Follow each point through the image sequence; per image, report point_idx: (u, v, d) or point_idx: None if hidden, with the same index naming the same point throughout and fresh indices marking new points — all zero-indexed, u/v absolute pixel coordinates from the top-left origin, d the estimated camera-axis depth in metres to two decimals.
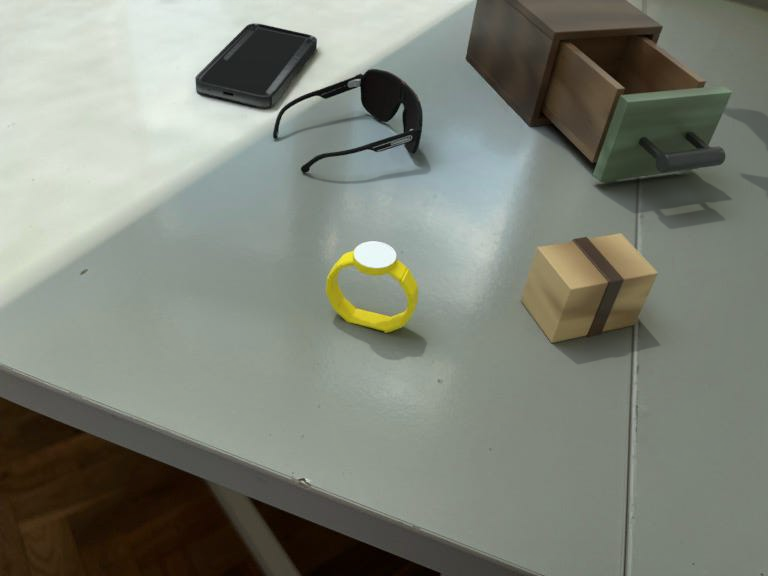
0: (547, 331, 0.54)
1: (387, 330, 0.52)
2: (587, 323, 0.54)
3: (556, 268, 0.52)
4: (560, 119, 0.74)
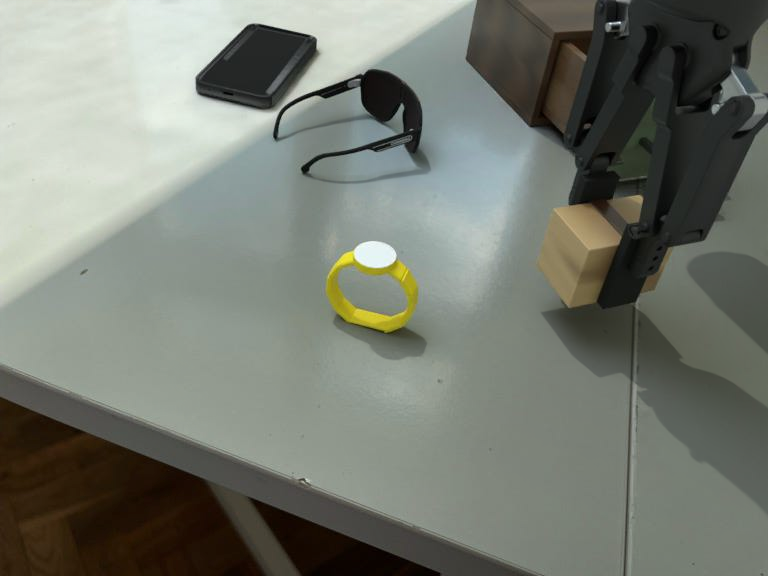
0: (564, 295, 0.52)
1: (387, 330, 0.52)
2: None
3: (573, 229, 0.50)
4: (560, 119, 0.74)
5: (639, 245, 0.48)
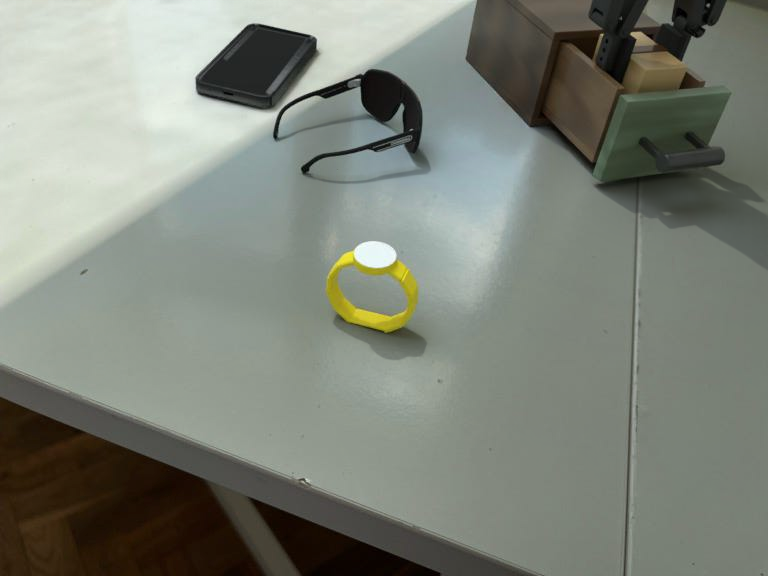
0: None
1: (387, 330, 0.52)
2: None
3: None
4: (560, 119, 0.74)
5: None
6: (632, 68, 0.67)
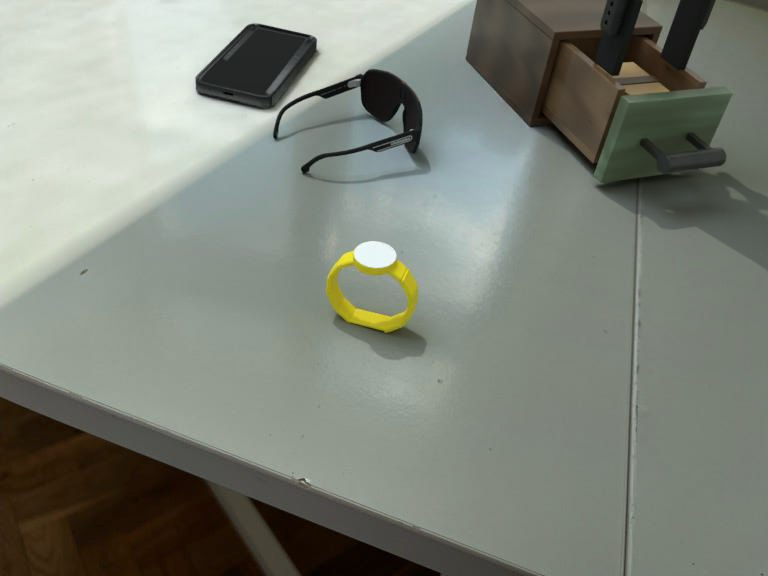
0: None
1: (387, 330, 0.52)
2: None
3: None
4: (561, 120, 0.74)
5: None
6: None
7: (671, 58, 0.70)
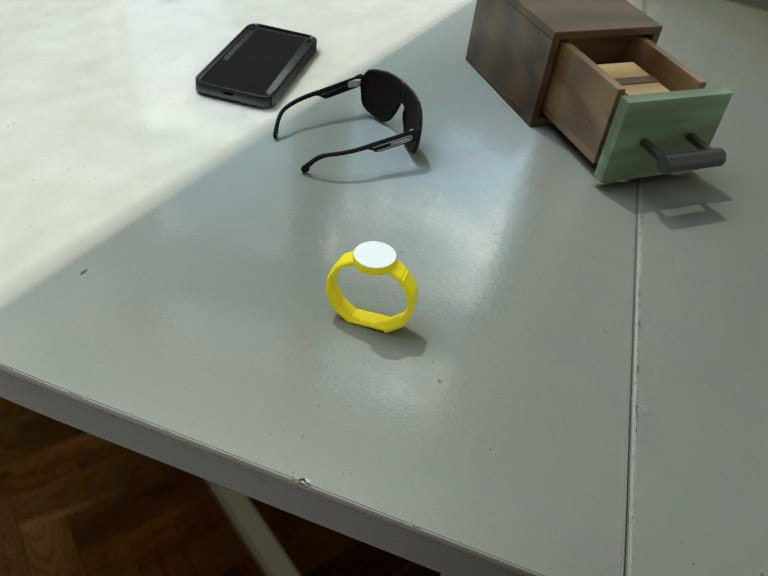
0: None
1: (387, 330, 0.52)
2: None
3: None
4: (561, 120, 0.74)
5: None
6: None
7: None
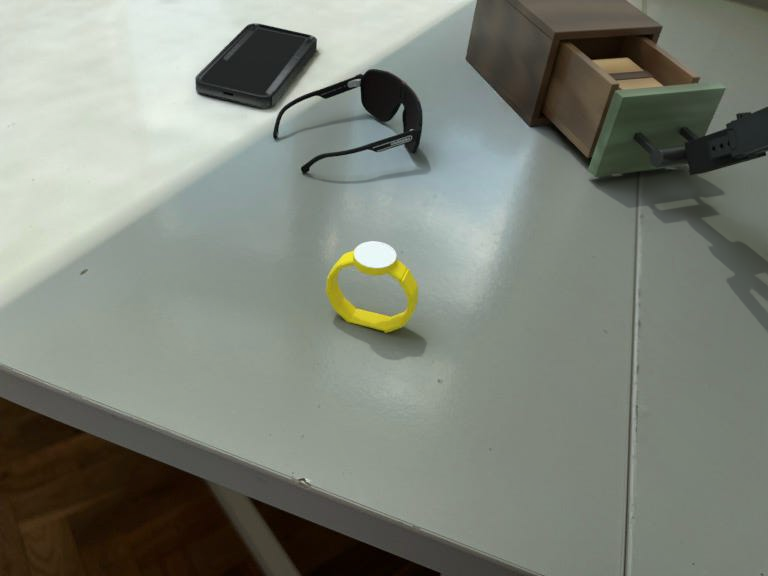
0: None
1: (387, 330, 0.52)
2: None
3: (607, 59, 0.73)
4: (556, 115, 0.74)
5: None
6: None
7: None
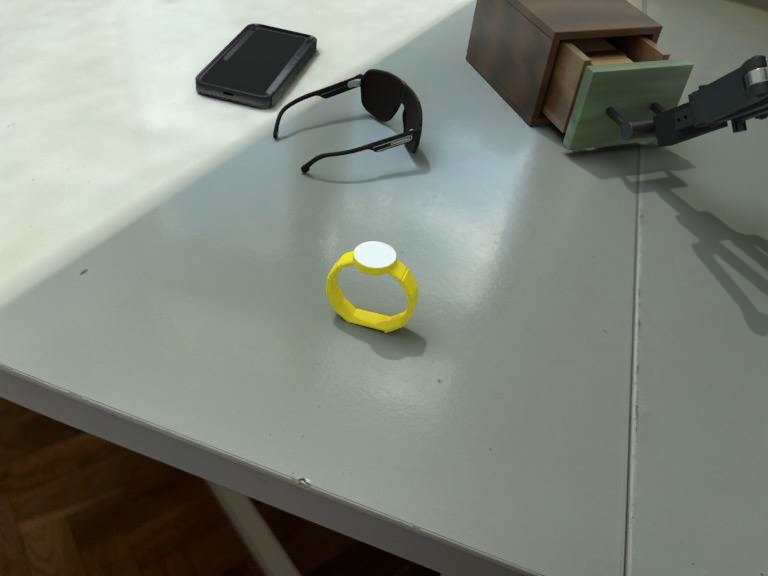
0: None
1: (387, 330, 0.52)
2: None
3: None
4: None
5: None
6: None
7: None
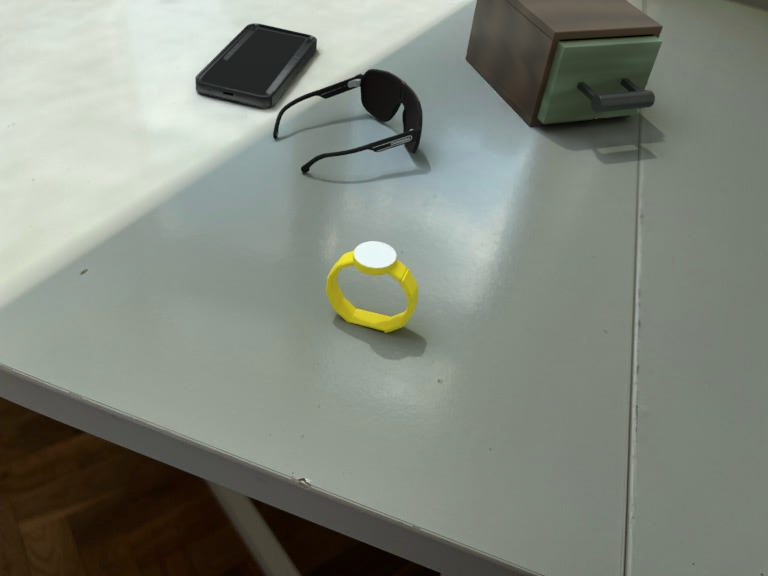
0: None
1: (387, 330, 0.52)
2: None
3: None
4: None
5: None
6: None
7: None
